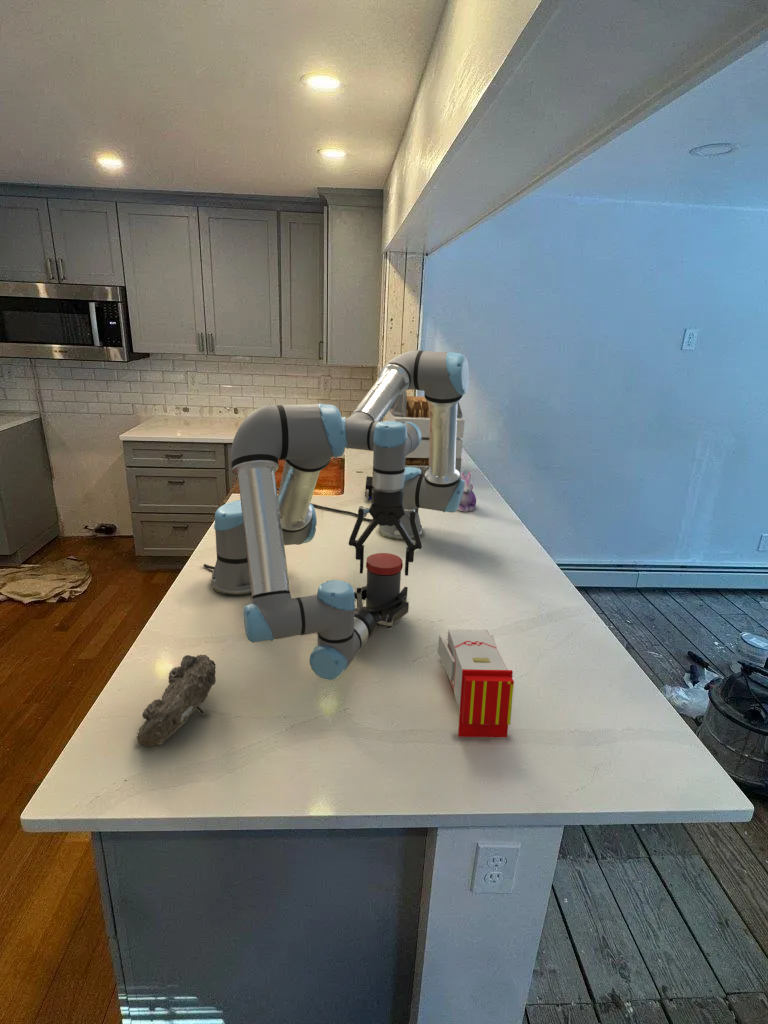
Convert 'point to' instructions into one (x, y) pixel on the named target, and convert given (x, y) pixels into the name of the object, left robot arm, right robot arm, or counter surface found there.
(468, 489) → the figurine
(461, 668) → the toy
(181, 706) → the fossil
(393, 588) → the jar
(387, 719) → the counter surface
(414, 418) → the white storage crate
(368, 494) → the figurine character
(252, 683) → the counter surface
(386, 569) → the lid
